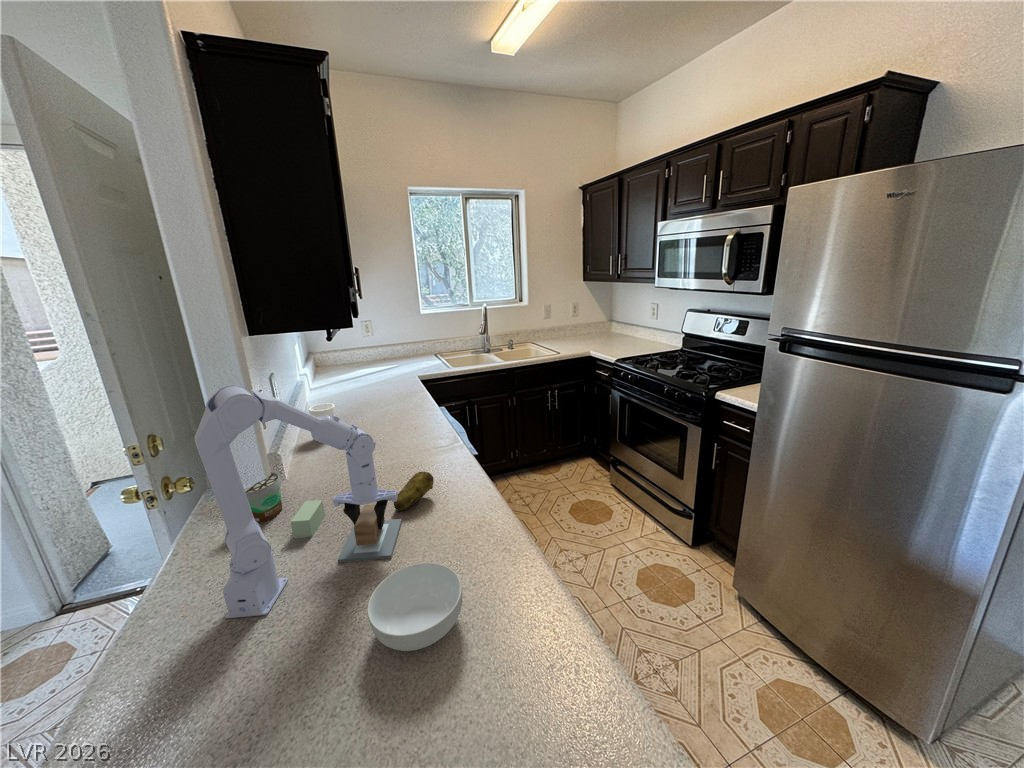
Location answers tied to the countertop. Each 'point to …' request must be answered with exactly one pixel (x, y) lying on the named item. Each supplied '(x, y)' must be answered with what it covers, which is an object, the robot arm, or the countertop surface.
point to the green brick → (308, 519)
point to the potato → (414, 490)
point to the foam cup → (322, 410)
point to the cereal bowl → (415, 606)
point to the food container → (265, 498)
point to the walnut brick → (367, 527)
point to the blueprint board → (374, 551)
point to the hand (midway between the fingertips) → (370, 527)
